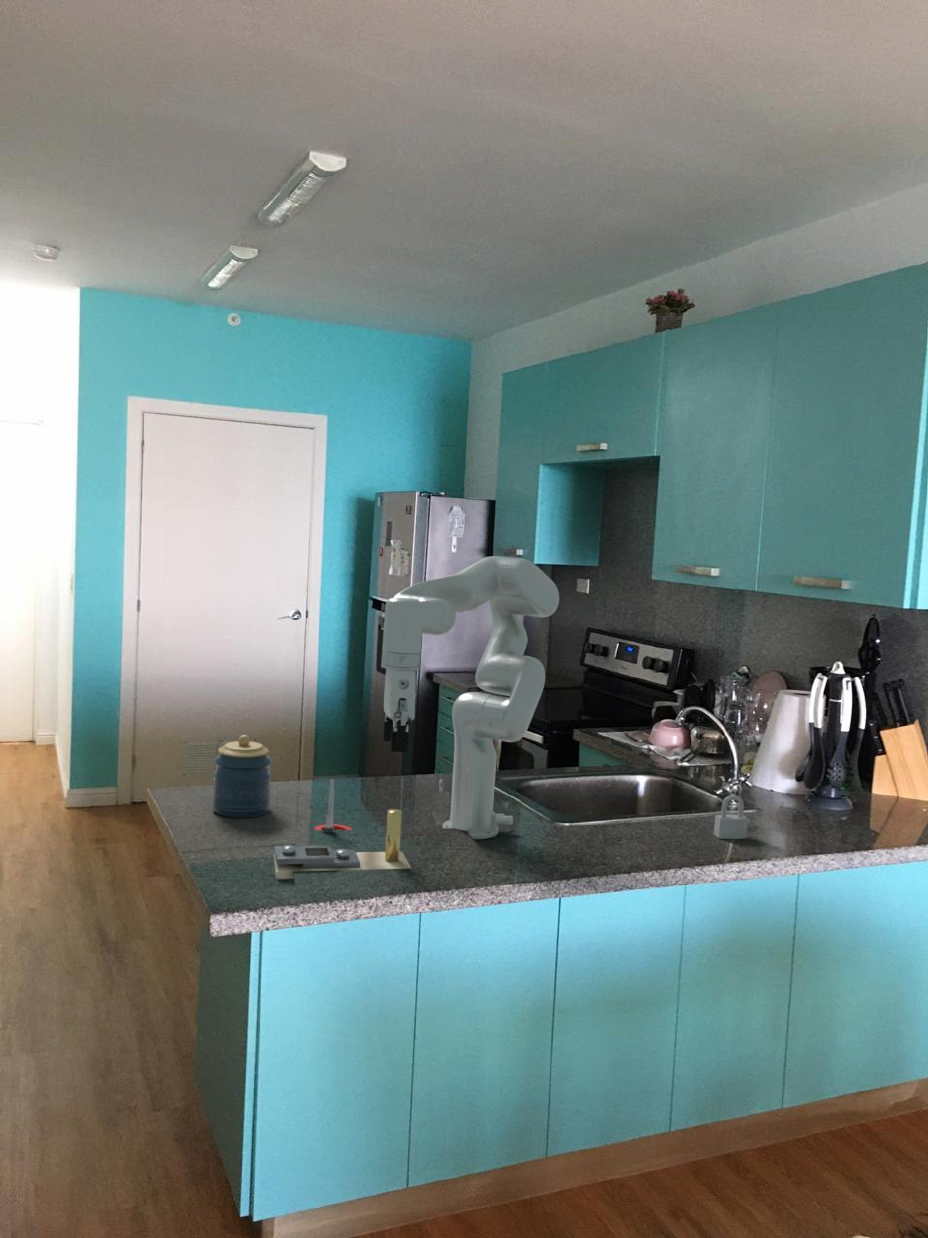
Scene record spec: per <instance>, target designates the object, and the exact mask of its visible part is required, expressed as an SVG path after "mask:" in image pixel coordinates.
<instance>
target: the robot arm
mask: <svg viewBox="0 0 928 1238" xmlns="http://www.w3.org/2000/svg"><path fill="white" fill-rule="evenodd" d="M487 602H488V604H489V609H490V614H491V621H492V631H491V635H490V638H489V640H488V642H487V644H486V647H485V650H484V652H483V654H482V656H481V659H480V661H479V663H478V665H477V669H476V671H475V677H474V678H475V684H476V685H477V686H478V688H480V689H481V690H483V691H484V692H488V693H484V692H478V691H469V692H468V691H467V692H465V693H462V694H460V695H459V696H458V697H457V698H456V699H455V701H454V703H453V705H452V711H451V717H452V727H453V734H454V750H453V751H454V753H453V768H452V782H451V784H452V785H451V799H450V801H451V802H450V815H449V820H446V821H444V822H443V823H442V829H456V830H459V831H464V832H467V833H468V834H469V836H470V837H471V839H472V840H485V839H486V840H487V839H490V838H494V837H496V836H497V835H498V834H499V826H500V825H513V824H514V816H513V815H505V813H496V812H495V811H494V801H495V800H494V799H495V798H494V797H495V785H496V769H497V752H496V748H495V746H494V743H493V740H496V741H500V742H501V741H502V742H506V743H515V742H518V741H520V740H521V739H523V737H524V736H525V734H526V732H527V730H528V729H529V726H530V724H531V721H532V719H533V717H534V714H535V711H536V708H537V706H538V704H539V701H540V699H541V697H542V694H543V692H544V691H543V690H544V687H545V683H546V671H545V666H544V665H543V663H542V662H541V660H539V659H538V658H535V657H533V656H529V655H524V653H525V650H526V648H527V645H528V634H527V631H526V628H525V626H524V623H523V622H522V620H521V618H520V615H521V616H527V617H535V618H548V617H550V616H552V615H554V613H555V612H556V611H557V609H558V606H559V605H560V604H559V603H560V593H559V589H558V588H557V586H556V584H555V582H554V581H553V580H552V579H551V578H550V577H549V576H548V575H547V574H546V573H545V572H544V571H543V570H542V569H541V568H540V567H538V565H536V564H534V563H533V562H532V561H530V560H528V559H525V558H520V557H519V558H518V557H509V556H499V555H493V556H492V555H491V556H486V557H484V558H482V559H480V560H478V561H476V562H474V563H473V564H471V565H470V566H468V567H466V568H464V569H461V570H460V571H459V572H457V573H455V574H451V575H450V574H449V575H446V576H442V577H438V578H434V579H429V580H426V581H421V582H418V583H415V584H412V585H410V586H408V587H406V588H404V589H403V590H401V591H399V592H398V593H397V594H395V595H394V596H393V597H391V598H389V599H388V600H387V601H386V603H385V610H384V621H383V622H384V623H383V635H382V636H383V637H382V638H383V640H382V650H381V651H382V654H381V668H383V669H386V671H385V682H384V691H383V692H384V695H383V711H384V713H385V715H384V721H383V737H382V740H383V741H384V742H390V752H393V753H407V752H408V743H409V721H413V720H414V719H415V716H416V713H415V712H416V689H417V688H416V686H417V685H416V683H417V682H416V678H417V677H416V671H419V670H420V663H421V652H422V651H421V650H422V639H423V638H422V637H423V635H428V636H429V635H430V636H441V635H444V634H447V633H449V632H450V631H451V629H453V627H454V625H455V623H456V619H457V615H456V614H457V613H463V612H470V611H474V610H476V609H478V607H481V606H482V605H484V604H485V603H487ZM491 693H492V694H491ZM496 694H497V695H496ZM501 695H502V696H501Z"/></svg>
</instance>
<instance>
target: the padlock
mask: <svg viewBox="0 0 928 1238" xmlns="http://www.w3.org/2000/svg"><path fill="white" fill-rule="evenodd" d="M730 801H736V802H738V810H737V811H738V812H737V814H732V813H731V814H728V813H727V810H728V809H727V808H728V803H729V802H730ZM744 806H745V805H744V800H743V798H742V797H740V796H739V795H735V794H733V795H728V796H726V797H724V799H723V801H722V804H721V812H720V813H721V814H715V817H714V825H713V835H714V836H715V837H716V838H717V839H719V840H720V839H722V840H723V839H725V840H741V839H742V840H745V839H747V837H748V828H749V827H748V825H749V818H748V817H746V816H745V815H744V808H745V807H744Z"/></svg>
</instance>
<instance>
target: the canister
mask: <svg viewBox="0 0 928 1238" xmlns="http://www.w3.org/2000/svg"><path fill="white" fill-rule="evenodd" d="M217 751H218V753H219V754H218V755H217V756H216V757H215V758H214V760H213V761H214V763H215V766H216V768H215V771H214V773H213V780H214V781H213V798H212V807H213V812H214V813H216V814H218V815H220V816H224V817H227V818H237V819H238V818H254V817H258V816H263V815H264V814H267V813H268V811H269V809H270V805H271V798H270V797H271V796H270V794H271V793H270V791H271V777H272V773H271V772H270V765H271V764H272V763H273V760H272V758H271V757H270V756H268V754H269V751H270V750H269V749H268V748H267V747H265V746H264V745H263V744H262V743H259V742H256V741H251V740H250V737H249V735H247V734H243V735H242V734H241V735H240V736H239V737H238V739H237V740H234V741H230V742H227V743H225V744H224V745H223V746H221V747H219V749H218V750H217Z"/></svg>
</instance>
